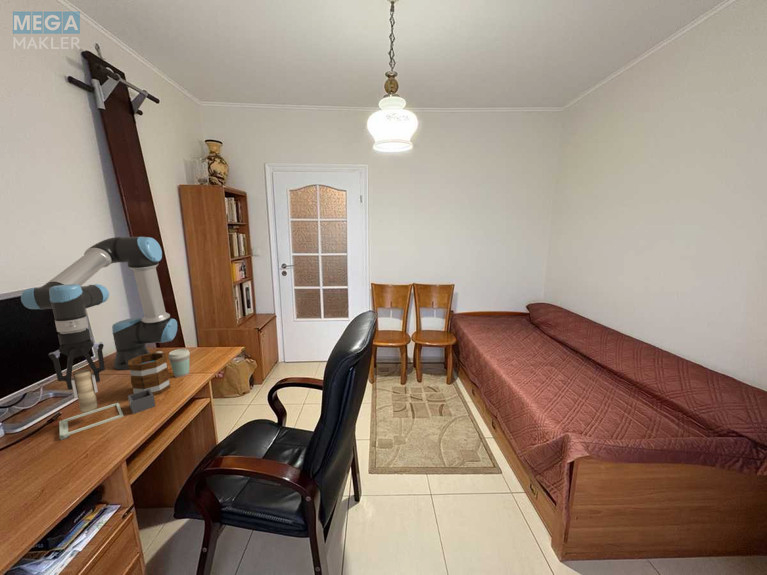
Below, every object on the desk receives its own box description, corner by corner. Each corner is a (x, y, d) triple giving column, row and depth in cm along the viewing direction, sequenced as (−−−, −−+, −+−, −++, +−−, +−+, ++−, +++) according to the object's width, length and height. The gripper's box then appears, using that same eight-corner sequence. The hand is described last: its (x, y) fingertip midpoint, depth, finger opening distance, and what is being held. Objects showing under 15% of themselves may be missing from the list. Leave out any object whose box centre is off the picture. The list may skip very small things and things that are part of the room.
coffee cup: (196, 371, 147) (193, 348, 145) (183, 380, 139) (180, 355, 137) (180, 371, 148) (177, 347, 146) (166, 379, 140) (162, 355, 138)
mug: (164, 397, 125) (159, 363, 122) (125, 402, 121) (119, 367, 118) (181, 375, 143) (177, 345, 141) (148, 379, 140) (143, 348, 137)
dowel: (80, 409, 108) (72, 372, 106) (97, 404, 111) (90, 368, 109) (81, 414, 105) (73, 376, 103) (98, 408, 109) (91, 371, 106)
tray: (60, 424, 108) (59, 421, 108) (118, 405, 119) (118, 402, 119) (60, 440, 100) (59, 436, 100) (123, 418, 111) (123, 414, 111)
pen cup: (130, 408, 117) (127, 395, 116) (151, 401, 122) (149, 388, 121) (133, 415, 113) (130, 402, 112) (155, 408, 117) (153, 395, 116)
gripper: (34, 339, 94) (50, 408, 99) (109, 326, 107) (120, 388, 111) (35, 334, 99) (50, 399, 104) (106, 322, 112) (117, 381, 116)
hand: (86, 393), depth 107 cm, fingers closed on dowel, 4 cm apart
